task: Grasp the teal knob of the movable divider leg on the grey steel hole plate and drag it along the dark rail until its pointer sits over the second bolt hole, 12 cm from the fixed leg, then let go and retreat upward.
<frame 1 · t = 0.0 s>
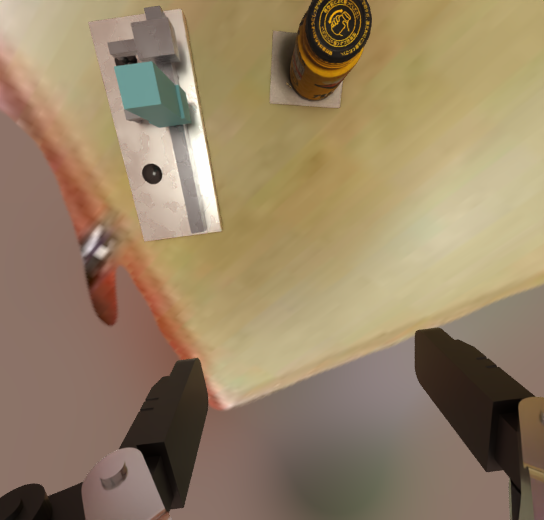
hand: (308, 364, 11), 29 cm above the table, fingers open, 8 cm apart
hole plate: (165, 138, 36), on the table
divider leg: (145, 104, 28), point 7 cm above the table, slide at 6.0 cm
condiment: (307, 72, 34), on the table
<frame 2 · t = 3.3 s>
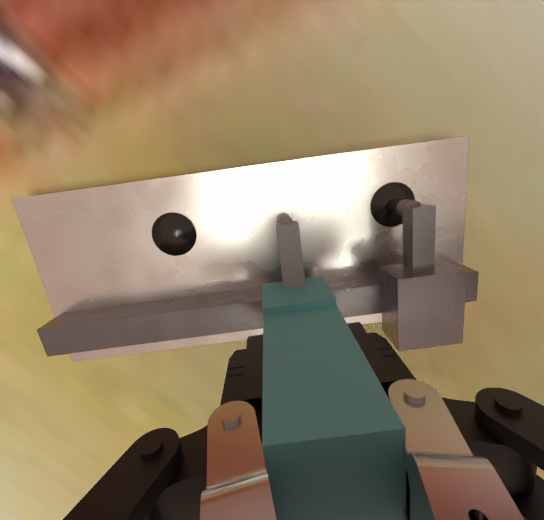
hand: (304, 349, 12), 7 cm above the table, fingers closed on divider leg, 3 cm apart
hole plate: (253, 252, 18), on the table
divider leg: (301, 316, 11), point 7 cm above the table, slide at 6.0 cm, touching gripper
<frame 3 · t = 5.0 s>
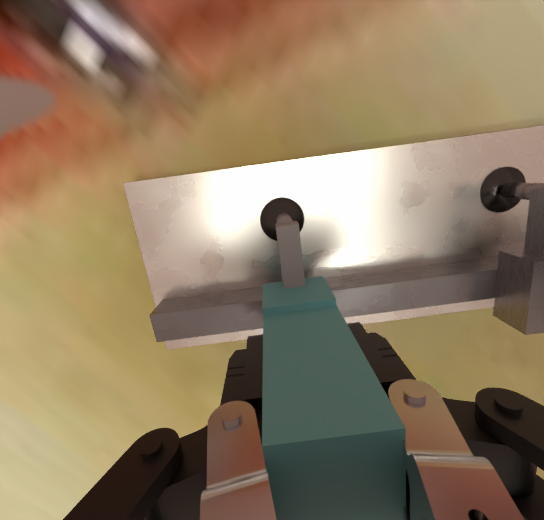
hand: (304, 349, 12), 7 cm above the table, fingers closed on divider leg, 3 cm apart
hole plate: (349, 239, 18), on the table
divider leg: (301, 316, 11), point 7 cm above the table, slide at 11.9 cm, touching gripper
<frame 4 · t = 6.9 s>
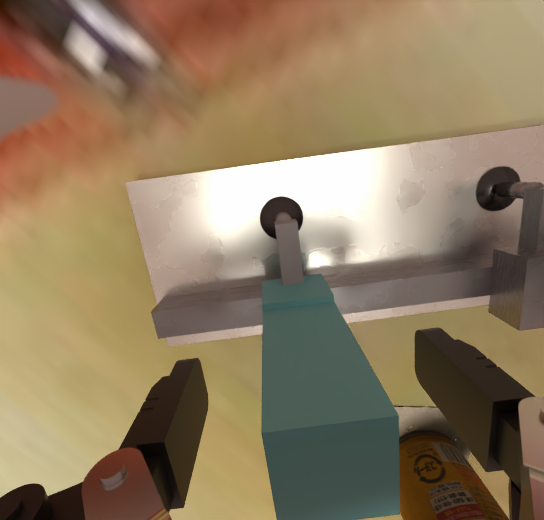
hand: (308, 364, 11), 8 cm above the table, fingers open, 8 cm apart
hole plate: (347, 238, 18), on the table
divider leg: (300, 312, 11), point 7 cm above the table, slide at 12.0 cm
condiment: (421, 447, 23), on the table
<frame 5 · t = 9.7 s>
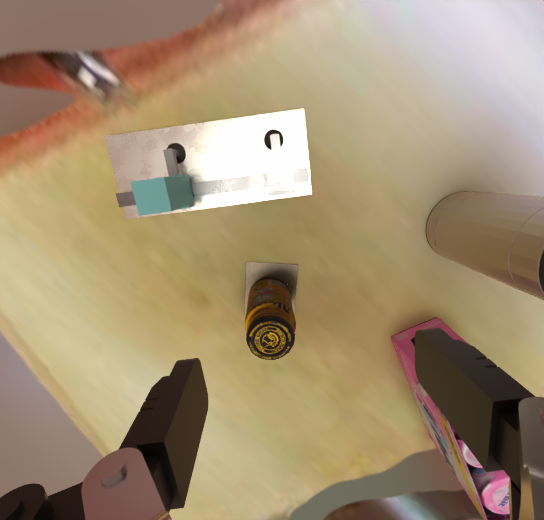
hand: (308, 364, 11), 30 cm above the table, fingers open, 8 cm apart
hole plate: (213, 166, 37), on the table
gum box: (433, 380, 48), on the table
divider leg: (166, 178, 31), point 7 cm above the table, slide at 12.0 cm
condiment: (270, 290, 42), on the table
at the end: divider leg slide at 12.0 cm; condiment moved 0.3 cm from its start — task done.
